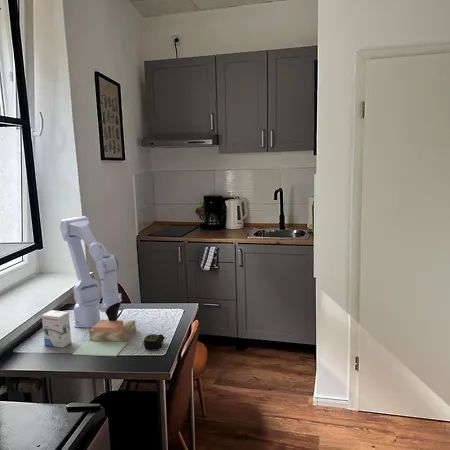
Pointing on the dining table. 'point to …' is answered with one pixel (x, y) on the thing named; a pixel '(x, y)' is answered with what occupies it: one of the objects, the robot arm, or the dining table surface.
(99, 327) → the block
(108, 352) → the mat
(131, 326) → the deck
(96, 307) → the robot arm
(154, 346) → the tape measure
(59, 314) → the ink box
